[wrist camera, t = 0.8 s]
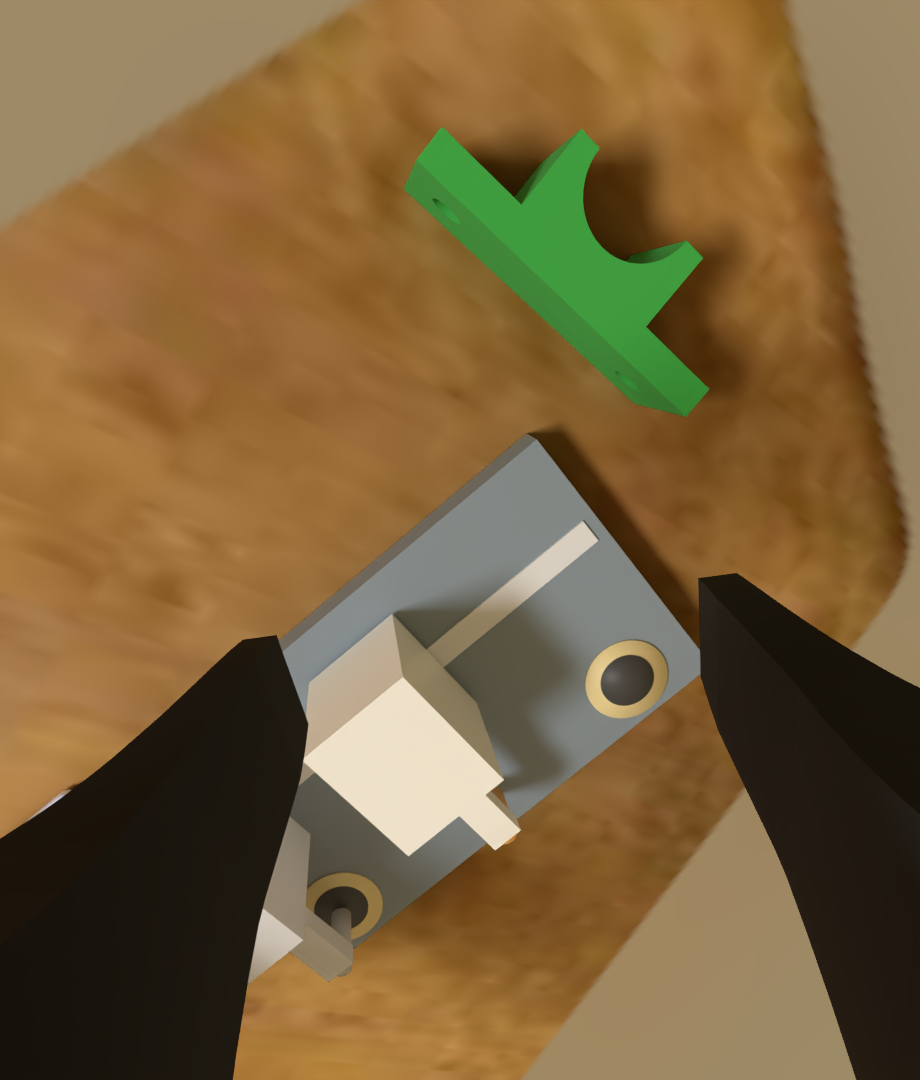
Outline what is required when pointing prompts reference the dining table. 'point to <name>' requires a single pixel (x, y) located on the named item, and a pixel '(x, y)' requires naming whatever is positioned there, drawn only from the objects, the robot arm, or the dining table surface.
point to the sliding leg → (405, 742)
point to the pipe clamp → (565, 263)
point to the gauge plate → (474, 685)
